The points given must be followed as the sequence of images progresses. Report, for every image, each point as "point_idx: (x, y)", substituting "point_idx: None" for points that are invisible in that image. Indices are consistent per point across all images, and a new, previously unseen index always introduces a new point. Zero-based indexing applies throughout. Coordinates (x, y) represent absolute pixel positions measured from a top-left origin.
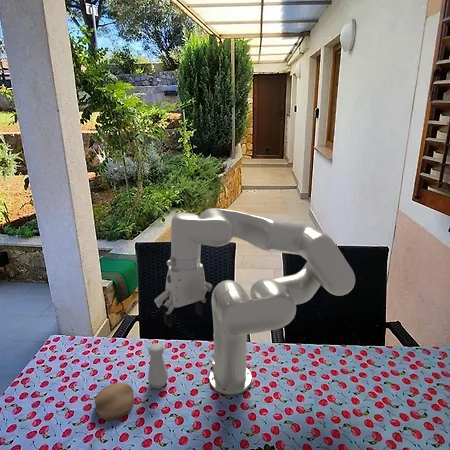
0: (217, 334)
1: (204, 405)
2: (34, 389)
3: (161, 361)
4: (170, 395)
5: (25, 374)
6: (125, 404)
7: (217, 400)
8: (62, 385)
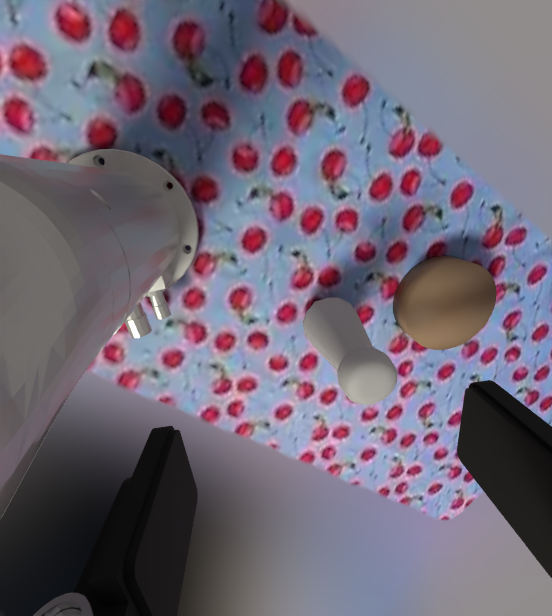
0: (104, 265)
1: (249, 174)
2: None
3: (343, 339)
4: (315, 261)
5: None
6: (445, 267)
7: (205, 170)
8: None
